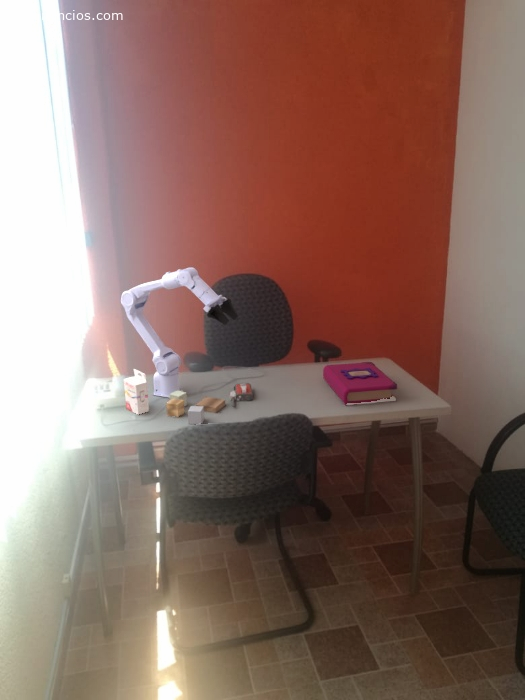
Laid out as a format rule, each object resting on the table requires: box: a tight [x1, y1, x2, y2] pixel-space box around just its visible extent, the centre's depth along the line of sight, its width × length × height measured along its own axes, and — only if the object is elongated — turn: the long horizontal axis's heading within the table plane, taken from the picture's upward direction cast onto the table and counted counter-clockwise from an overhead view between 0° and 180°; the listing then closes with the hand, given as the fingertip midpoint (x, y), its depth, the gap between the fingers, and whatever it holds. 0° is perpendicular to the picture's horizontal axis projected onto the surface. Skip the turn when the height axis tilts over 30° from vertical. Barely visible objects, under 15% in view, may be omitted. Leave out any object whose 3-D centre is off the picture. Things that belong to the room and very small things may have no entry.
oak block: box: [166, 398, 185, 418], centre depth 199 cm, size 4×4×5 cm
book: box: [322, 361, 398, 405], centre depth 219 cm, size 21×28×8 cm
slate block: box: [187, 405, 205, 425], centre depth 193 cm, size 4×4×5 cm
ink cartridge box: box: [123, 368, 150, 416], centre depth 201 cm, size 9×5×15 cm, turn 44°
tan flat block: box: [195, 396, 226, 414], centre depth 205 cm, size 8×8×2 cm
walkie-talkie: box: [229, 382, 254, 408], centre depth 213 cm, size 9×4×20 cm
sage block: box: [168, 390, 188, 407], centre depth 206 cm, size 4×4×5 cm
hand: (232, 320), depth 198 cm, fingers open, 7 cm apart
